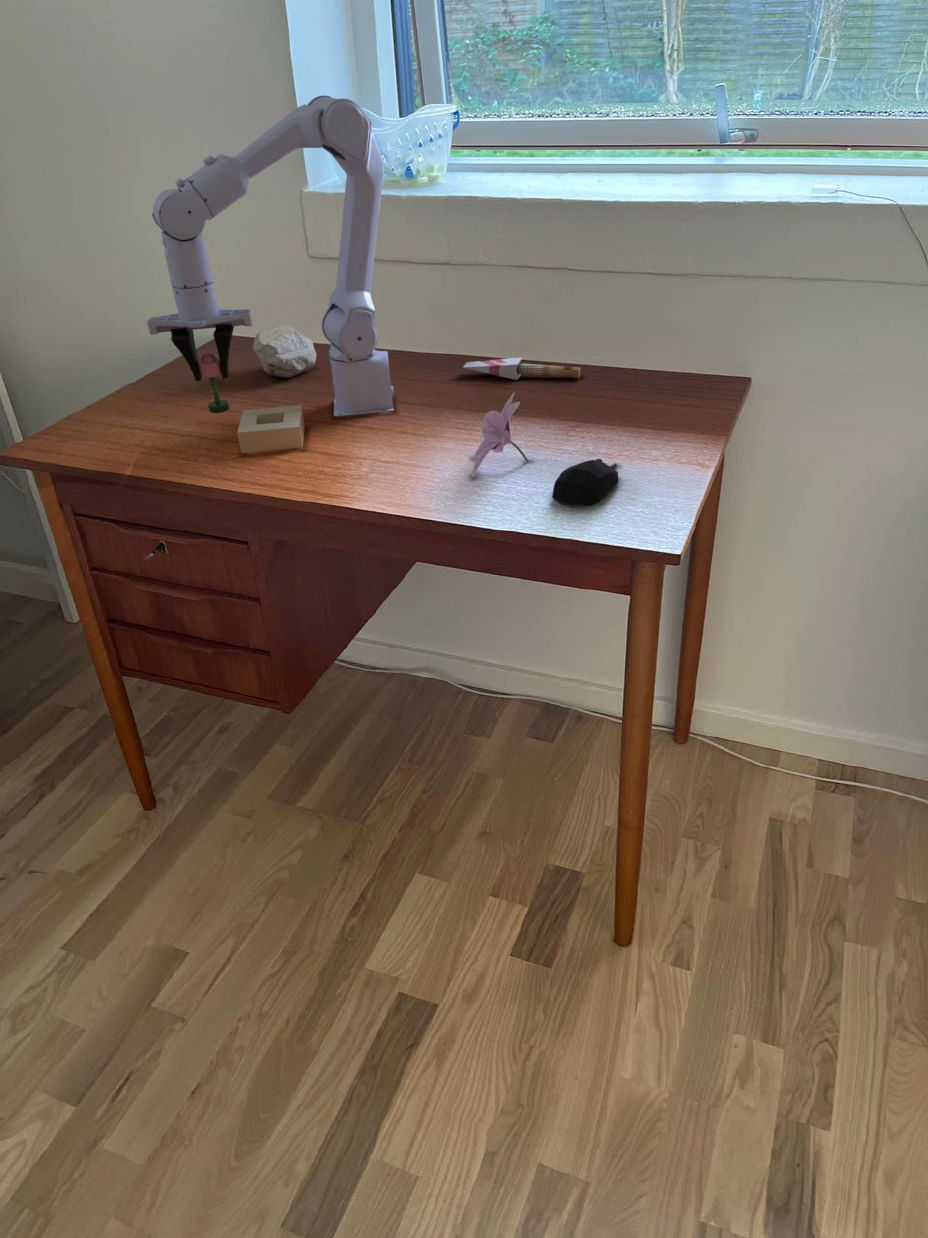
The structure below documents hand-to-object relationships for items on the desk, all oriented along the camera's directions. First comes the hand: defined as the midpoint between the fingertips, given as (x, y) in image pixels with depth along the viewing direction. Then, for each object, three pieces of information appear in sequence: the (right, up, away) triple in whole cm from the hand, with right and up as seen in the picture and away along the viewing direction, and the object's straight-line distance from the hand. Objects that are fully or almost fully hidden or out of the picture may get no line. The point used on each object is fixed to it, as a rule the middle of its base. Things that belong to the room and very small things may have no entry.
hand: (212, 377), depth 138 cm
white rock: (+6, +8, +29) cm, 31 cm away
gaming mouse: (+54, -19, -16) cm, 60 cm away
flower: (0, -4, +3) cm, 5 cm away
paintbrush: (+47, +5, +21) cm, 52 cm away
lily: (+42, -15, -9) cm, 46 cm away
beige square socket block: (+9, -9, +2) cm, 13 cm away
